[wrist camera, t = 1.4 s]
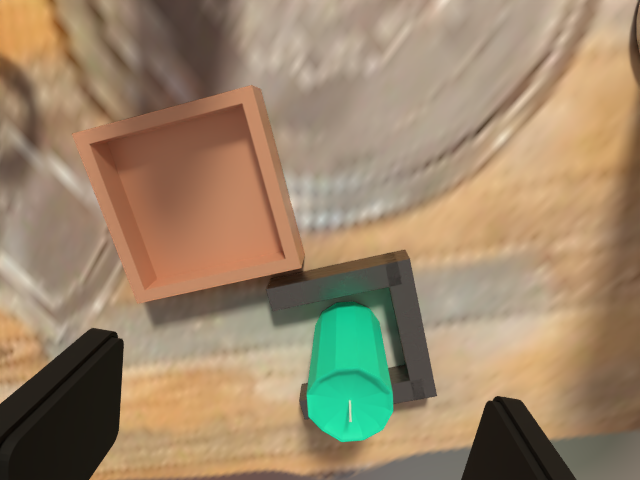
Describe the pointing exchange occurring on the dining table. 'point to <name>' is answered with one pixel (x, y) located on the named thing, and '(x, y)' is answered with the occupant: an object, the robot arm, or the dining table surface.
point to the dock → (361, 278)
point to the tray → (194, 194)
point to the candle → (349, 374)
